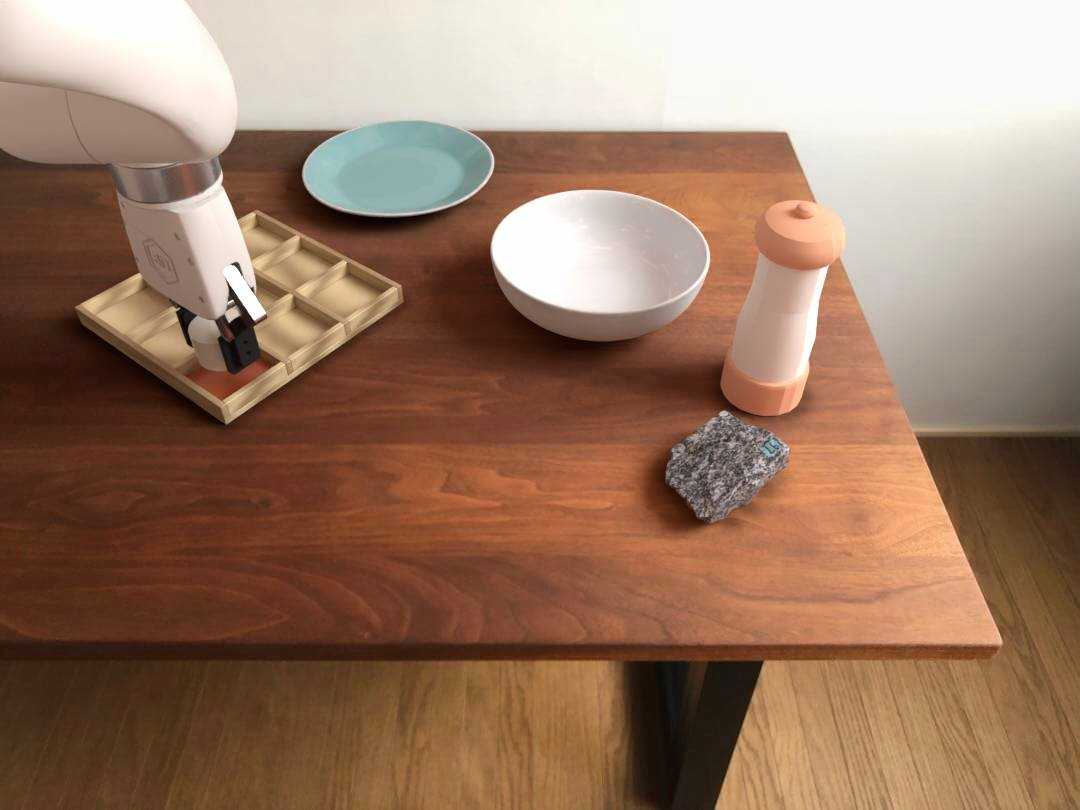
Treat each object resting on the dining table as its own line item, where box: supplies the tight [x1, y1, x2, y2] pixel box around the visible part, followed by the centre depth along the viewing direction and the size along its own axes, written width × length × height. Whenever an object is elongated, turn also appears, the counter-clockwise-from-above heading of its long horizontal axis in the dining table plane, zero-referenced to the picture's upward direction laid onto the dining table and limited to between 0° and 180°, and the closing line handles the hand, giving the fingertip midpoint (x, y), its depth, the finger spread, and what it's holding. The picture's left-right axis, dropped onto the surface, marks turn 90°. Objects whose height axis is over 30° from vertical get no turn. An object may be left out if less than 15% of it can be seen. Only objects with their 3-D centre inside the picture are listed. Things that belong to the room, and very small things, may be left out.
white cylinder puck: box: [188, 309, 239, 371], centre depth 77 cm, size 5×5×3 cm
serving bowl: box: [489, 189, 711, 342], centre depth 87 cm, size 21×21×7 cm
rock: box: [664, 409, 791, 525], centre depth 72 cm, size 8×10×4 cm
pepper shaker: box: [720, 199, 847, 417], centre depth 74 cm, size 7×7×19 cm
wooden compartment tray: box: [74, 209, 404, 426], centre depth 87 cm, size 22×22×2 cm
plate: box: [301, 119, 495, 218], centre depth 104 cm, size 22×22×3 cm
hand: (224, 350), depth 78 cm, fingers closed on white cylinder puck, 4 cm apart
